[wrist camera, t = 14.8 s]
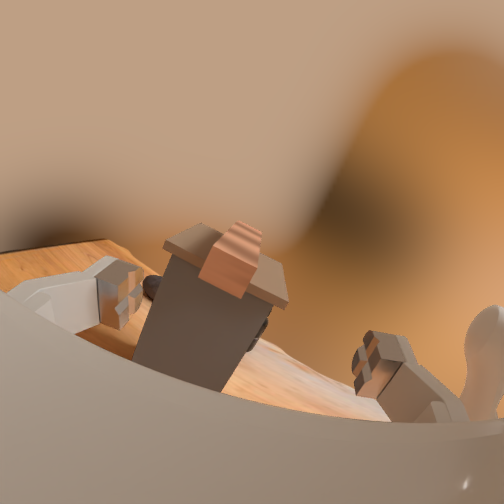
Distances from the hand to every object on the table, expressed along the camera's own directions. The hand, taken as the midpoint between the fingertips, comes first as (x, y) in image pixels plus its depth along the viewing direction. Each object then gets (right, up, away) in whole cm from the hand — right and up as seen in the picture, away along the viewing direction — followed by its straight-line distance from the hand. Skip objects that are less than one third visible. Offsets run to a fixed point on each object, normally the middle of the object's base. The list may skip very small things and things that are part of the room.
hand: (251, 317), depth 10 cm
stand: (-14, -21, +32) cm, 41 cm away
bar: (-2, +1, +24) cm, 25 cm away
